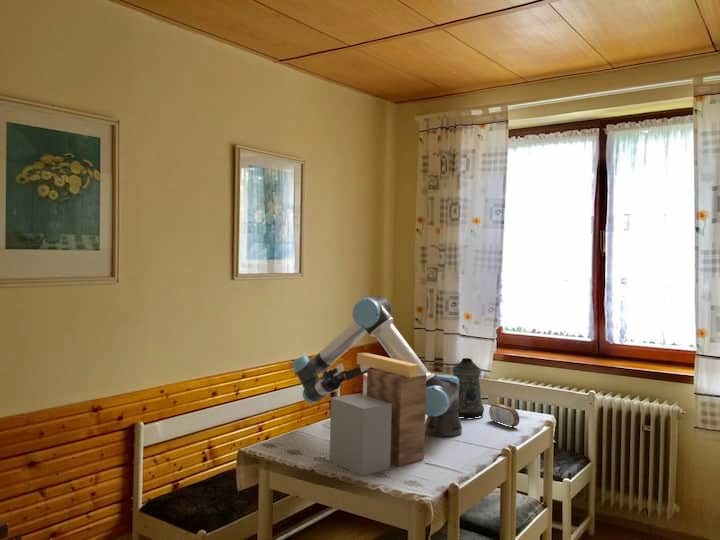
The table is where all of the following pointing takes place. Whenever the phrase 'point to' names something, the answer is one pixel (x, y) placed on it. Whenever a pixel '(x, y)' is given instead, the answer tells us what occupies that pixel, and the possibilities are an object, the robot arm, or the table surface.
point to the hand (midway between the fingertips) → (356, 364)
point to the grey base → (360, 433)
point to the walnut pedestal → (402, 412)
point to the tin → (504, 414)
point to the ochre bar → (388, 364)
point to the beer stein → (468, 389)
